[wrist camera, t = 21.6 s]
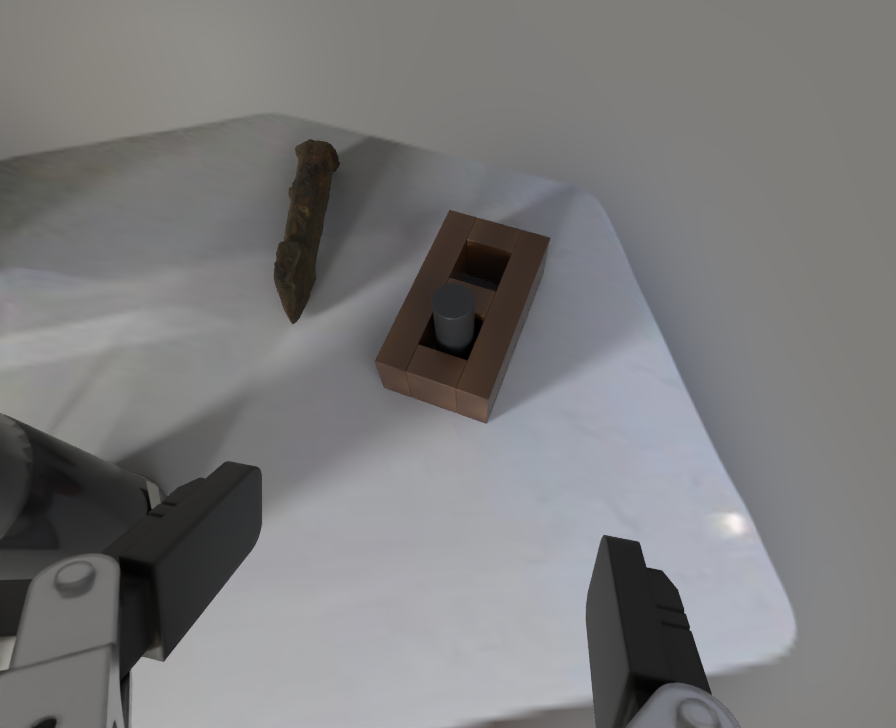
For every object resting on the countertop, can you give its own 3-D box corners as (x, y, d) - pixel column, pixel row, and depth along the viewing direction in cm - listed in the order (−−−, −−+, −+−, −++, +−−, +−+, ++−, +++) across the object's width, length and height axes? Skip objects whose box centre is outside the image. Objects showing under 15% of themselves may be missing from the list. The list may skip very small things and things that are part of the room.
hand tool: (304, 167, 57) (291, 131, 52) (342, 168, 56) (332, 131, 52) (265, 326, 48) (245, 297, 44) (309, 328, 48) (293, 299, 44)
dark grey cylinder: (432, 367, 46) (424, 312, 38) (445, 337, 47) (440, 276, 39) (467, 379, 45) (466, 325, 37) (479, 348, 47) (481, 289, 38)
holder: (384, 387, 45) (374, 361, 41) (451, 246, 51) (449, 209, 47) (486, 423, 44) (488, 400, 39) (543, 272, 50) (550, 237, 45)
